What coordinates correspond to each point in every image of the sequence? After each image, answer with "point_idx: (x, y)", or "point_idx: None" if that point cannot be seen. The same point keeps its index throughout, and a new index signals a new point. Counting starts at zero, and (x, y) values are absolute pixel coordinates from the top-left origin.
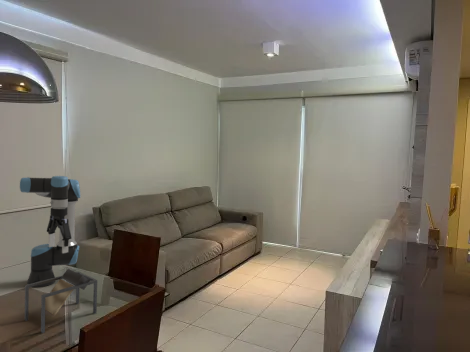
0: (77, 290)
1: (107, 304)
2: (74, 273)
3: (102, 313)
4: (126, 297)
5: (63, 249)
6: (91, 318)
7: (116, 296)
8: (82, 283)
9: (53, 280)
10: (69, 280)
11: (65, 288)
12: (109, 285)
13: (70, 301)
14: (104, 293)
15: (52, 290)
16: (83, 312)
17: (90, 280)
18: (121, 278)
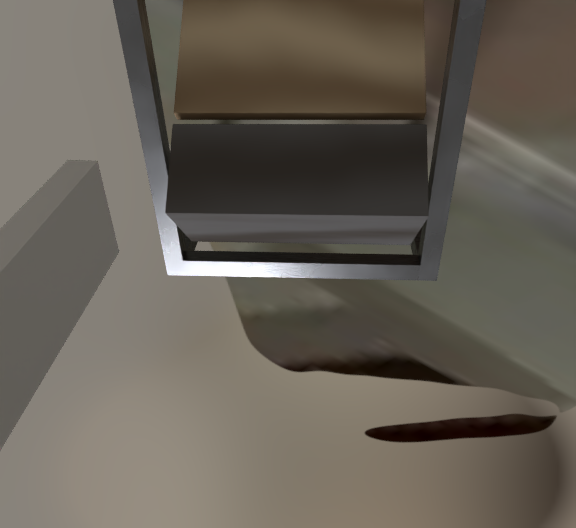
0: None
1: (270, 247)
2: (283, 200)
3: None
4: (277, 335)
5: (37, 208)
6: (173, 113)
7: (321, 316)
8: (164, 174)
9: (448, 52)
10: (285, 132)
11: (133, 15)
12: (461, 362)
13: None
14: (398, 303)
15: (409, 10)
16: (270, 122)
17: (231, 252)
18: (483, 427)
